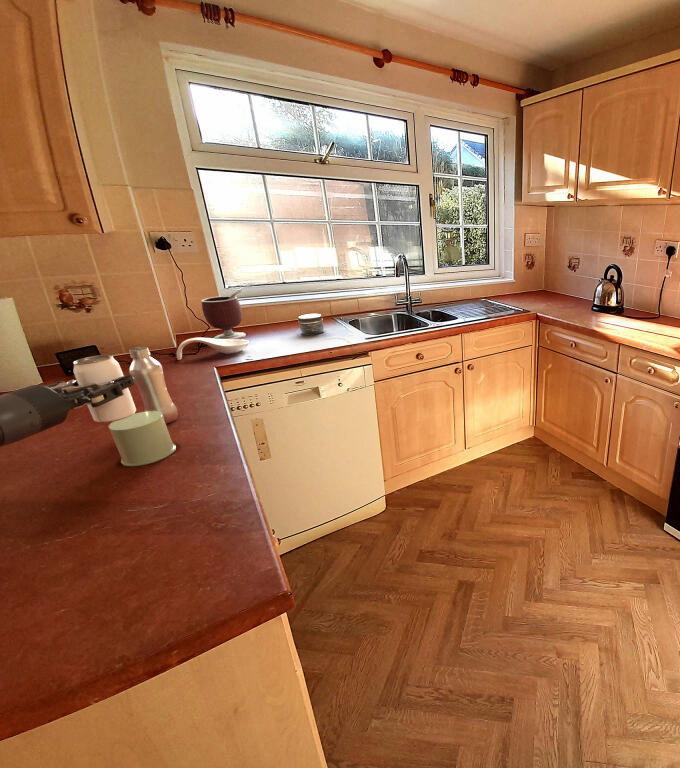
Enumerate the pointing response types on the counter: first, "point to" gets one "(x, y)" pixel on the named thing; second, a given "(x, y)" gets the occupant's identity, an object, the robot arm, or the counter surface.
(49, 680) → the counter surface
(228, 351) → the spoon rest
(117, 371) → the can
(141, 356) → the plastic bottle
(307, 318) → the jar
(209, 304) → the mate gourd
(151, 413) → the cup
